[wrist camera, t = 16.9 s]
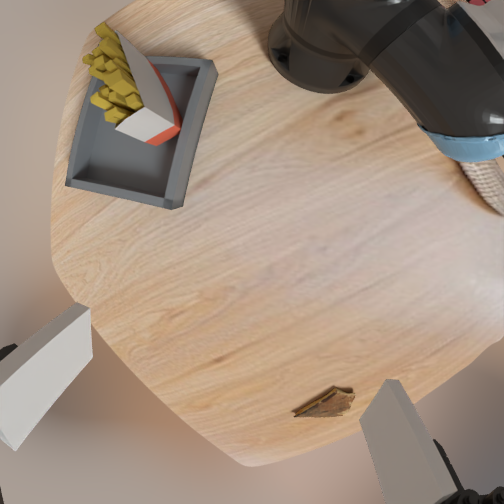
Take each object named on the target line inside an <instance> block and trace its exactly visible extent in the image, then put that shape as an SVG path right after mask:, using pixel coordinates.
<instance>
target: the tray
mask: <svg viewBox="0 0 504 504" xmlns="http://www.w3.org/2000/svg"><path fill="white" fill-rule="evenodd" d="M145 57H146V58H147V59H148V60H149V61H150V62H151V63H152V64H153V65H154V66H155V67H156V68H157V69H158V71H159V72H160V74H161V76H162V77H163V79H164V81H165V82H166V84H167V86H168V87H169V89H170V92H171V94H172V96H173V98H174V101H175V103H176V105H177V108H178V110H179V112H180V114H181V117H182V120H183V124H182V127H181V131H180V134H178V135H176V136H174V137H172V138H170V139H169V140H167V141H165V142H163V143H161V144H160V145H158V146H155V145H152V144H149V143H145V142H143V141H141V140H138V139H136V138H134V137H132V136H129V135H127V134H125V133H122V132H120V131H118V130H115V125H116V123H112V122H108V121H105V115H104V113H105V112H107V111H106V110H104V109H102V108H100V107H98V106H96V105H94V104H92V103H91V100H90V97H91V96H92V95H93V94H95V93H96V92H97V91H98V92H100V91H99V88H100V87H101V86H103V85H104V84H105V82H104V81H102V80H100V79H98V78H96V77H94V76H92V79H91V82H90V85H89V87H88V90H87V93H86V97H85V100H84V103H83V106H82V110H81V113H80V117H79V120H78V124H77V128H76V132H75V136H74V140H73V145H72V149H71V154H70V159H69V164H68V170H67V176H66V182H65V186H68V187H73V188H77V189H82V190H87V191H91V192H96V193H100V194H105V195H109V196H114V197H118V198H123V199H127V200H131V201H136V202H140V203H144V204H149V205H153V206H157V207H161V208H165V209H170V210H172V209H176V208H179V207H183V203H184V198H185V194H186V189H187V185H188V181H189V176H190V172H191V168H192V164H193V160H194V156H195V152H196V148H197V145H198V141H199V137H200V133H201V130H202V126H203V123H204V119H205V116H206V112H207V109H208V106H209V102H210V99H211V96H212V93H213V90H214V86H215V83H216V80H217V77H218V72H217V70H216V67H215V65H214V63H213V61H212V60H206V59H196V58H184V57H165V56H145ZM105 85H107V84H105Z"/></svg>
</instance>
